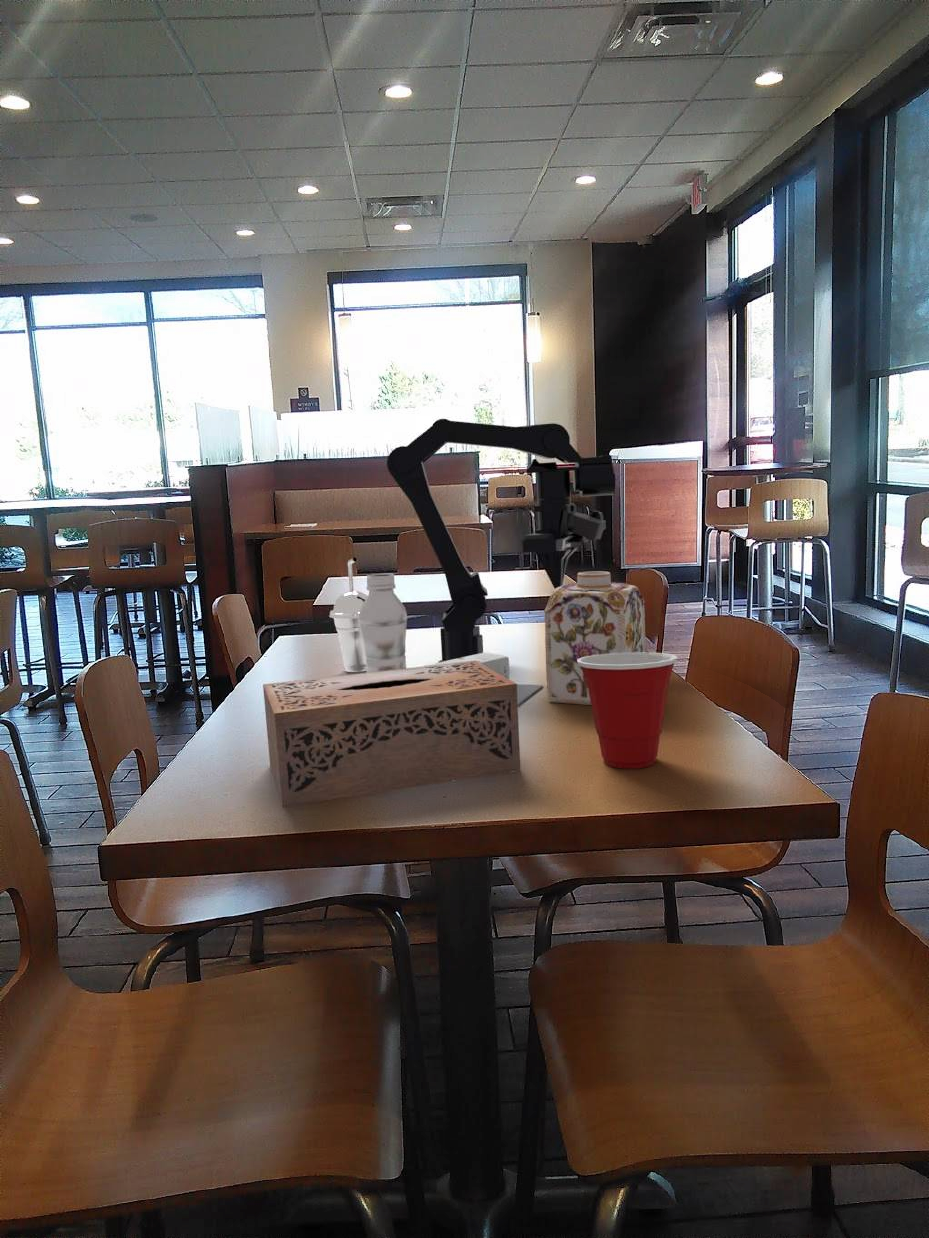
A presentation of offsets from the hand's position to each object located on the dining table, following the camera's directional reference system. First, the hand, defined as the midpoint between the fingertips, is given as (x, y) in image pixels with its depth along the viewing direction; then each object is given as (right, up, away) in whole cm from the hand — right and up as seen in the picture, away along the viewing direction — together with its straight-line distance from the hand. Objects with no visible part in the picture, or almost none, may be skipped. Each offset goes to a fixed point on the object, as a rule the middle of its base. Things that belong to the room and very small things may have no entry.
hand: (558, 588), depth 155 cm
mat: (-13, -17, -24) cm, 32 cm away
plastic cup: (+2, -21, -56) cm, 60 cm away
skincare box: (-11, -13, -15) cm, 23 cm away
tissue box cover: (-25, -23, -54) cm, 64 cm away
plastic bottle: (-26, -20, -36) cm, 48 cm away
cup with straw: (-35, -14, 0) cm, 38 cm away
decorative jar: (+3, -17, -27) cm, 32 cm away
